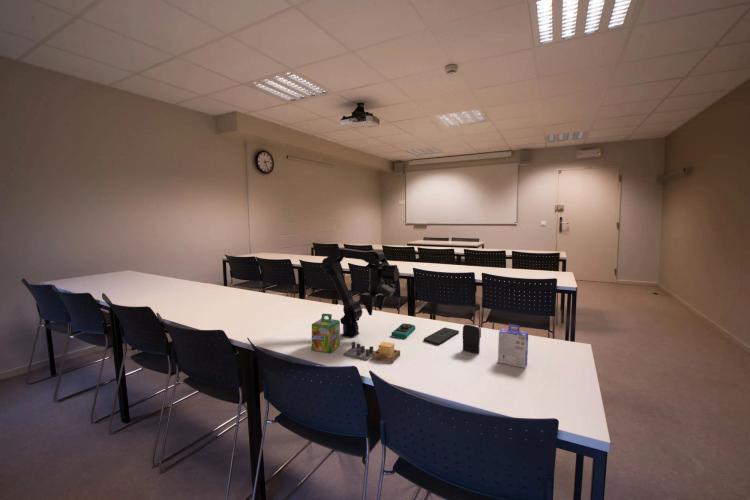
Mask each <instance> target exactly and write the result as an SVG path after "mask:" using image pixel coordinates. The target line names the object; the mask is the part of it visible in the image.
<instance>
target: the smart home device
mask: <svg viewBox="0 0 750 500" xmlns="http://www.w3.org/2000/svg"><path fill="white" fill-rule="evenodd" d="M459 333H460V331H459V330H458V329H452V328H448V327H443V328H440V329H439V330H437V331H435V332H433V333H432V334H429V335H428V336H426V337H424V338H423V342H424V343H426V344H430V345H433V346H434V345H435V346H440V345H443V344H444V343H446V342H448V341H449V340H451V339H452V338H454V337H455V336H457V335H459Z"/></svg>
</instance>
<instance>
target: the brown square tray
mask: <svg viewBox="0 0 750 500" xmlns="http://www.w3.org/2000/svg"><path fill="white" fill-rule="evenodd" d="M374 351H375V352H374V353H373V354H372V357H371V358H372V360H375V361H380V362H384V363H388V364H393V363H394V362H395V361H397V360H398V358H400V357H401V350H399V349H395V348H394V355H393V356H392V357H391V356H386V355H381V354H379V348H378V349H376V350H374Z"/></svg>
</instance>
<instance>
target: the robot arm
mask: <svg viewBox="0 0 750 500" xmlns="http://www.w3.org/2000/svg"><path fill="white" fill-rule="evenodd" d="M344 258H346V259H348V258H349V259H356V260H361V261H363V262H365V263H368V264H367V265H365V266H364V268H365V269H369V280H367V284H369V286H368V287H369V288H368V289H367V292H364V293H361V294H360V295H359V301H355V300H354V298H353V296H352V294H351V293H350V290H349V288H348V285H347V283H346V281H345V280H344V276H343V275H342V272H341V270H342V269H341V262H342V261H343V260H344ZM321 268H322V269H323V270H324V272H325V273H326V274H327V275H328V276H330V278H331V280H332V282H333V284H334V286H335V289H336V291H337V293H338V295H339V297H340V300H341V302H342V304H343V306H342V307H343V309H342V312H343V314H344V315H343V316H342V317H341V318H340V319H339V321H340V325H341V324H342V330H343V331H342V333H340V337H341V336H342V337H347V338H350V339H351V338H354V337H356V336H358V335H359V334H360V331H359V325H358V324H359V323H358V321H359V320H360V318H361V317H362V315H363V307H362V306H361V303H362V304H363V305H364V308H365V309H366V312H367V313H368V316H372V315H373V307H374V304H375V303H376V302H377V307H378V310H379V311H382V309H383V306H384V304H385V301H386V298H388V299H389V298H391V297H392V296H393V295H394V293H395V292H396V288H395V286H396V285H395V284H393V283H391V284H389V285H388V284H385V281H386V280H387V281H394V282H397V281H398V280H399V278H400V271H399V267H398V265H397V264H390V263H389V262H388V260H387V258H386V257H385V253H384V252H383V251H382V250H380V249H376V250H375V249H373V250H359V249H352V248H351V249H350V248H345V247H341V248H339V247H338V248H337V249H335V250H334V252H332V253H331V254H329V255H328V256H327V257H324V258H323V259H322V261H321ZM360 301H361V303H360Z"/></svg>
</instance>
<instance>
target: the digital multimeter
mask: <svg viewBox="0 0 750 500" xmlns="http://www.w3.org/2000/svg"><path fill="white" fill-rule="evenodd" d="M414 331H416V325H415V324H412V323H401V324H400V325H399V326H398V327H397V328H396V329H394V330H393V331H391V337H393V338H398V339H405V340H406V339H407V338H408V337H409V336H410V335H411V334H412V333H414Z"/></svg>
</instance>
